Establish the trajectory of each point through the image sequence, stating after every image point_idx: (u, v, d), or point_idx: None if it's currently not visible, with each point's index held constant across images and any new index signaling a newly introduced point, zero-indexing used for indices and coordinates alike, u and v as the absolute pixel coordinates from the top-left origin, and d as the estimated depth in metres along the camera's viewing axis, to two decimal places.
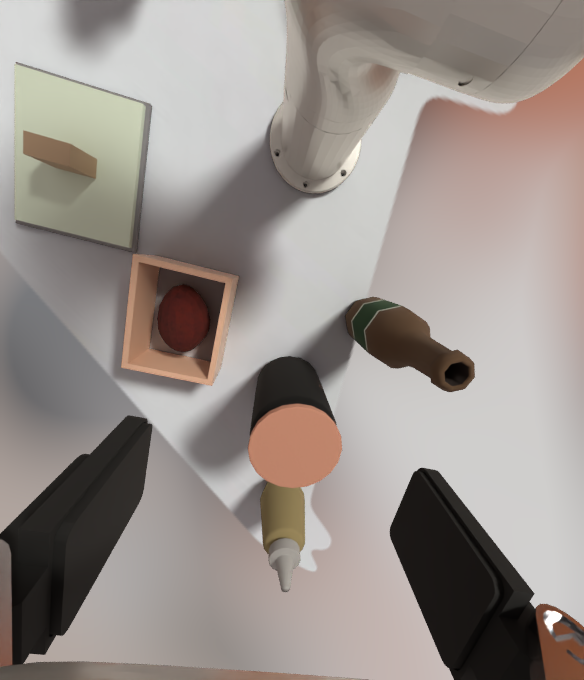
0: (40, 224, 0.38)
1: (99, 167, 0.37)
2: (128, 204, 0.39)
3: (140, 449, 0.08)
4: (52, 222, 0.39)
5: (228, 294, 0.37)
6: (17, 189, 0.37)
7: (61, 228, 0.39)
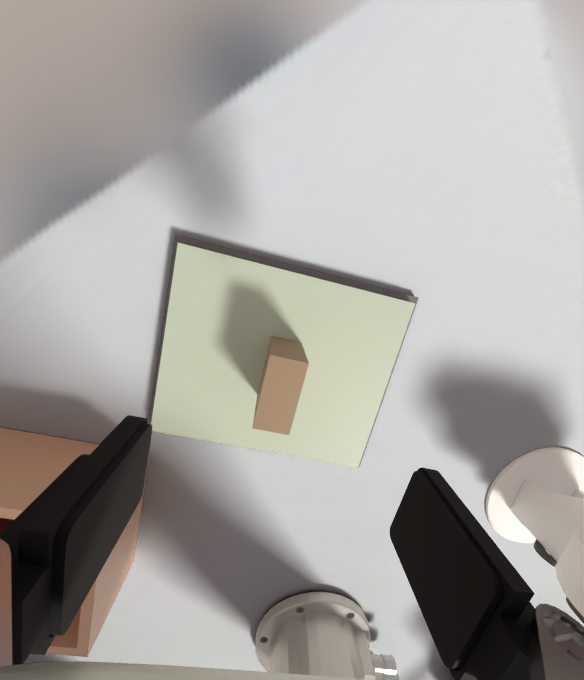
0: (173, 289, 0.20)
1: None
2: (220, 437, 0.23)
3: (140, 449, 0.08)
4: (179, 312, 0.21)
5: (56, 652, 0.21)
6: (232, 261, 0.20)
7: (170, 325, 0.21)
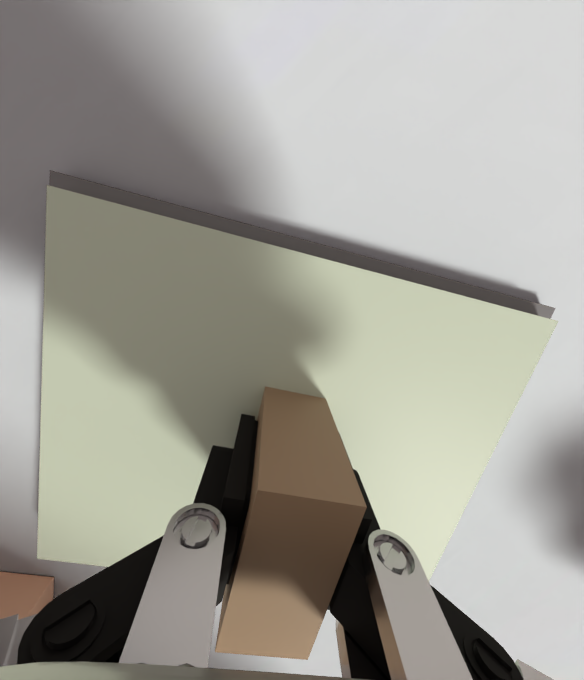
0: (49, 293, 0.09)
1: None
2: None
3: None
4: (68, 341, 0.10)
5: None
6: (177, 232, 0.09)
7: (52, 369, 0.10)
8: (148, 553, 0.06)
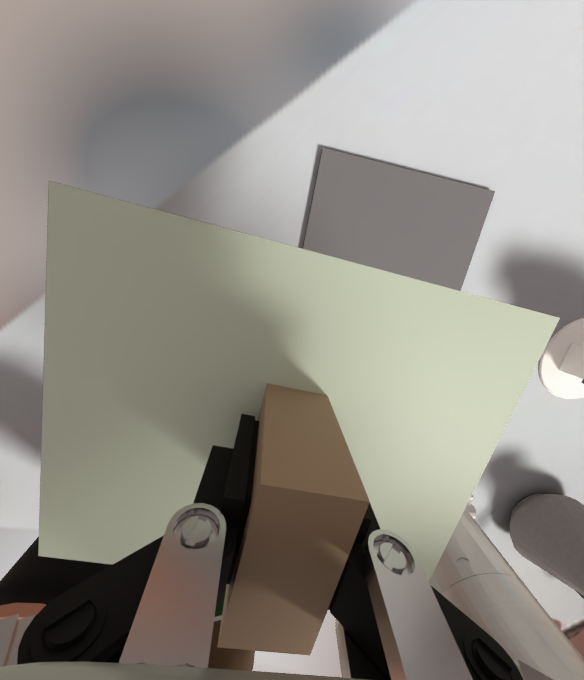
0: (51, 289, 0.09)
1: None
2: None
3: None
4: (70, 337, 0.10)
5: None
6: (179, 228, 0.09)
7: (53, 366, 0.10)
8: (148, 553, 0.06)
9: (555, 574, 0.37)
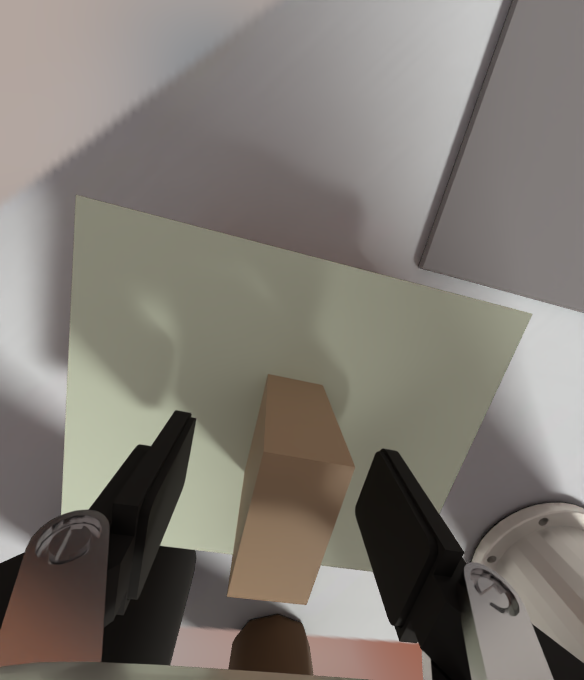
0: (76, 290, 0.10)
1: None
2: (183, 539, 0.14)
3: (188, 440, 0.09)
4: (92, 333, 0.11)
5: None
6: (190, 235, 0.10)
7: (77, 359, 0.11)
8: (8, 569, 0.05)
9: None
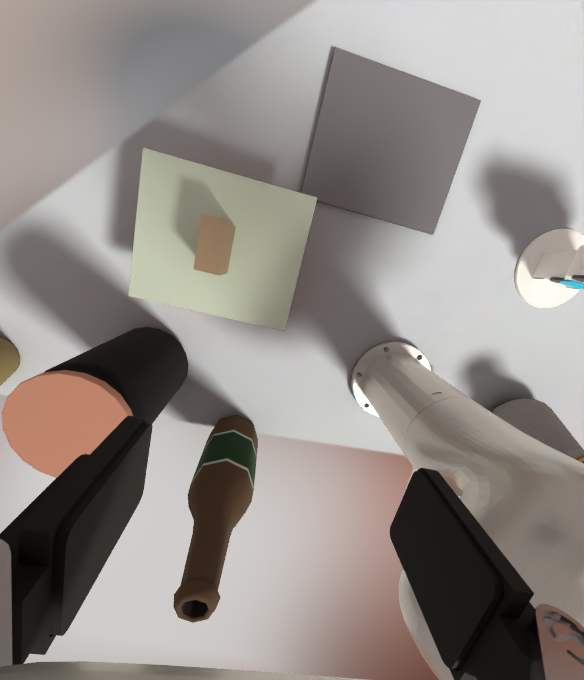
0: (141, 183, 0.28)
1: (218, 274, 0.31)
2: (180, 302, 0.32)
3: (140, 449, 0.08)
4: (146, 201, 0.29)
5: None
6: (182, 162, 0.28)
7: (140, 212, 0.29)
8: None
9: None
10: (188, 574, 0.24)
